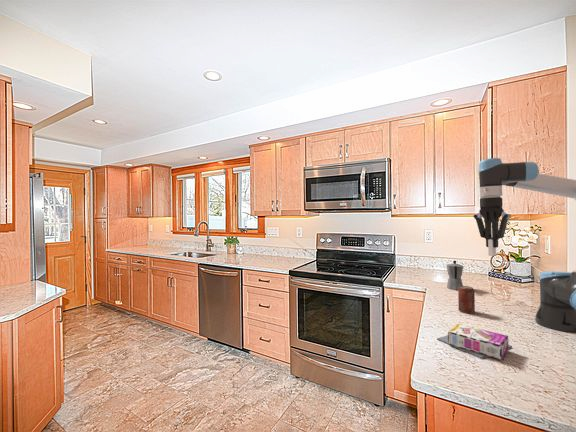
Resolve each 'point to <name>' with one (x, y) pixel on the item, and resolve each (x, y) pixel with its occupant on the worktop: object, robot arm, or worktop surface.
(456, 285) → the coffeepot
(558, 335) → the worktop surface
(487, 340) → the candy bar box
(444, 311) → the worktop surface
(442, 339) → the mat
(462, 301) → the soda can
